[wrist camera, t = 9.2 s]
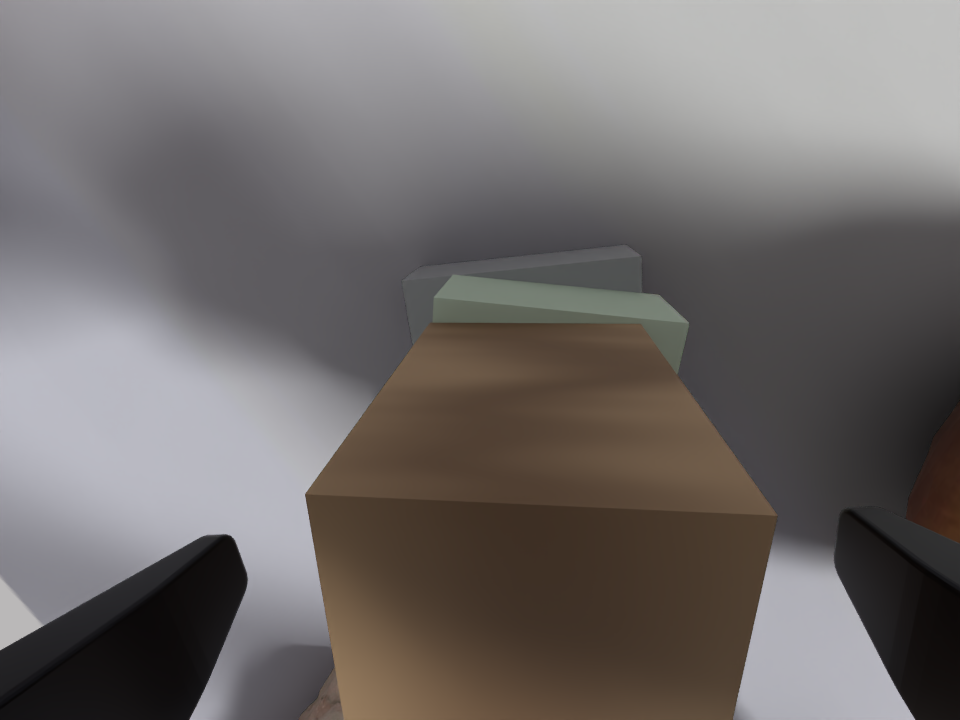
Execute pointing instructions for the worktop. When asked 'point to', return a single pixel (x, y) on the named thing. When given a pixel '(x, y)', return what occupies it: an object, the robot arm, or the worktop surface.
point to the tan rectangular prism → (538, 535)
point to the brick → (326, 702)
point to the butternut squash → (939, 483)
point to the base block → (526, 276)
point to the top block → (560, 308)
